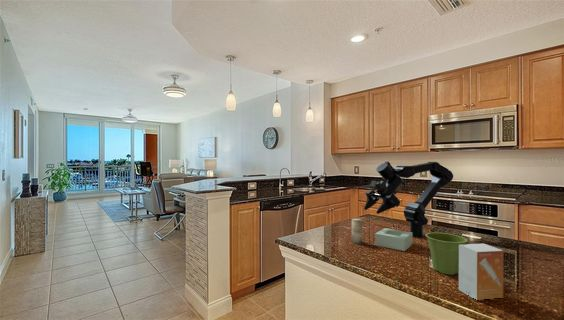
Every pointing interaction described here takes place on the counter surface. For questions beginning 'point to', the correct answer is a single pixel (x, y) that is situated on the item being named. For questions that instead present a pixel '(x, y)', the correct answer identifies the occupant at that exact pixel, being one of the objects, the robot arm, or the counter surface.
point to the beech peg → (356, 231)
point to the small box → (481, 271)
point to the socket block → (394, 239)
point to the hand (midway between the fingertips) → (370, 211)
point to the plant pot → (445, 251)
